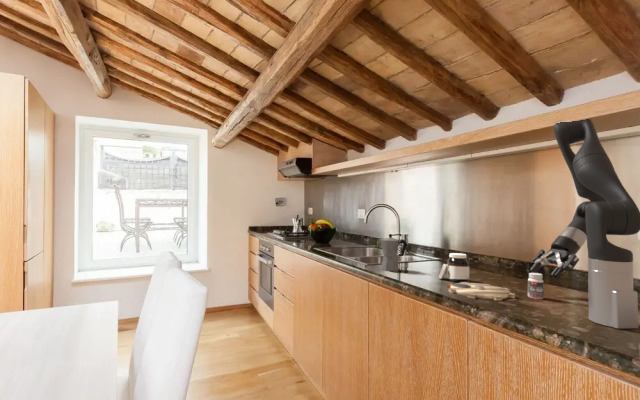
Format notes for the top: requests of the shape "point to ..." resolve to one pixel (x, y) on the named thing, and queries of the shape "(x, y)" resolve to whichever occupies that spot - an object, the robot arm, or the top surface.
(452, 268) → the spread jar
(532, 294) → the pill bottle
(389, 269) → the coffeepot
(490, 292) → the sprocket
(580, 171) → the robot arm
